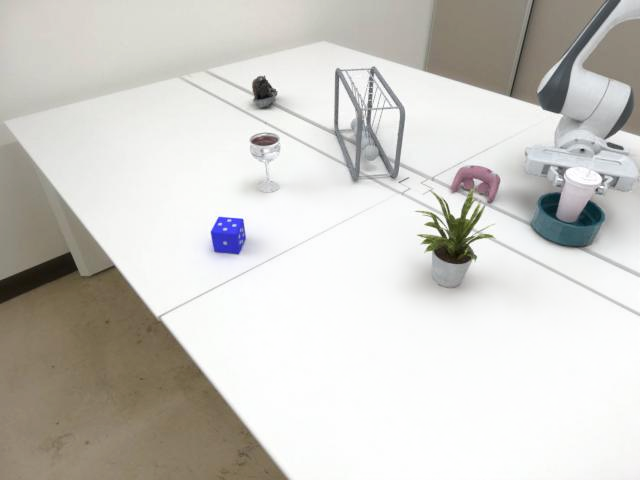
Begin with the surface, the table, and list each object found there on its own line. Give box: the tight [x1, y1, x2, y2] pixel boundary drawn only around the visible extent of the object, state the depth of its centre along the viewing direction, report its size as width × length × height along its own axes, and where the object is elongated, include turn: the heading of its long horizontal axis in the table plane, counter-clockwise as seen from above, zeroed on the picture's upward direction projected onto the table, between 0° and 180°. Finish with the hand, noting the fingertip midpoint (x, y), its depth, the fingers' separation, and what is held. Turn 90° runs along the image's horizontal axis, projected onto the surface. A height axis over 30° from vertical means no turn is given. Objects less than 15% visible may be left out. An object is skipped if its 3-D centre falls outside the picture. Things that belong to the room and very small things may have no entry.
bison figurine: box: [251, 75, 278, 108], centre depth 141 cm, size 12×7×10 cm, turn 178°
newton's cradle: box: [333, 65, 406, 181], centre depth 113 cm, size 30×10×18 cm, turn 8°
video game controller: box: [450, 164, 502, 203], centre depth 102 cm, size 10×5×7 cm, turn 59°
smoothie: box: [556, 155, 602, 223], centre depth 87 cm, size 6×6×14 cm
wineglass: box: [248, 131, 282, 193], centre depth 102 cm, size 7×7×12 cm
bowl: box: [530, 191, 606, 247], centre depth 92 cm, size 12×12×5 cm
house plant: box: [414, 186, 497, 289], centre depth 78 cm, size 14×14×16 cm
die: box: [210, 216, 247, 255], centre depth 88 cm, size 5×5×5 cm
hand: (579, 187), depth 86 cm, fingers closed on smoothie, 6 cm apart
